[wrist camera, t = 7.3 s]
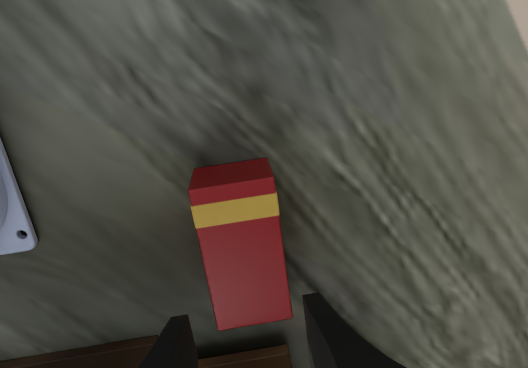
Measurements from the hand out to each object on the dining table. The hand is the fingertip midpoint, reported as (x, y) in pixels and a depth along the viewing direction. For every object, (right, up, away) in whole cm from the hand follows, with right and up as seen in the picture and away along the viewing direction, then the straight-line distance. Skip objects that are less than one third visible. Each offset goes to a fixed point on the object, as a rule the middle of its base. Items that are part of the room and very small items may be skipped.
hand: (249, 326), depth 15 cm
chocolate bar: (-1, +3, +8) cm, 8 cm away
